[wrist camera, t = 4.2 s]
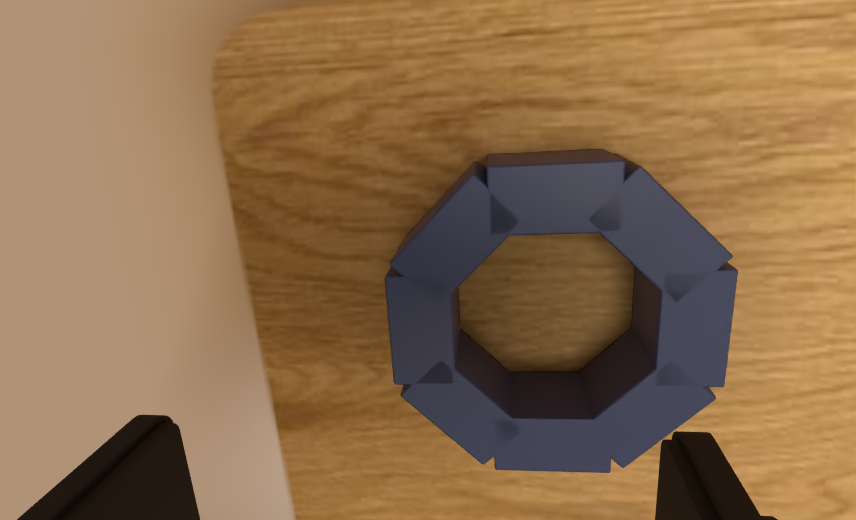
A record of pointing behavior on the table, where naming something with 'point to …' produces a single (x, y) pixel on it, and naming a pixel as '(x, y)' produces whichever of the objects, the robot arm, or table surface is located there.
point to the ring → (608, 373)
